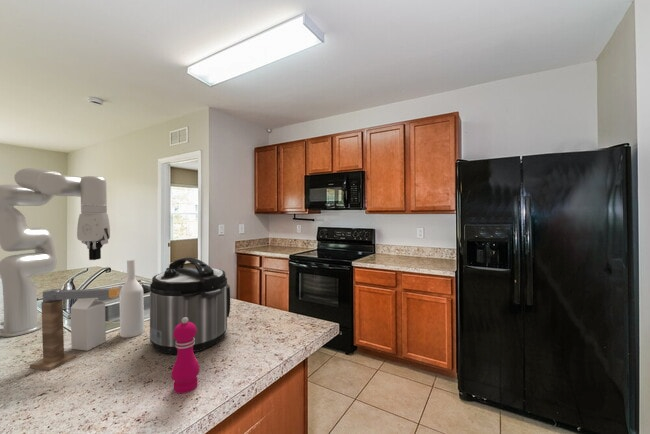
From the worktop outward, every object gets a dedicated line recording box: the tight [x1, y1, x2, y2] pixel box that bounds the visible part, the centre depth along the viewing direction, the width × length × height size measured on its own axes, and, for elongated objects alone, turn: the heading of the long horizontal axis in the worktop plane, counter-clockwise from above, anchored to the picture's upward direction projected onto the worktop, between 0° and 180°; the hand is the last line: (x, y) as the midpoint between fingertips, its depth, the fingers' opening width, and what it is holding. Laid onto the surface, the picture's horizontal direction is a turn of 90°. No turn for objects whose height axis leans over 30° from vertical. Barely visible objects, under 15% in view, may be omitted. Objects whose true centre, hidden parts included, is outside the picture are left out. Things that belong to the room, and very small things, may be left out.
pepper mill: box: [170, 317, 200, 394], centre depth 83 cm, size 7×7×20 cm
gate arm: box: [42, 286, 121, 302], centre depth 97 cm, size 21×4×3 cm, turn 101°
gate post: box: [29, 299, 77, 371], centre depth 96 cm, size 8×8×20 cm
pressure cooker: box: [149, 257, 231, 355], centre depth 113 cm, size 30×28×32 cm
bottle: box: [118, 258, 145, 338], centre depth 118 cm, size 8×8×30 cm
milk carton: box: [70, 298, 107, 352], centre depth 108 cm, size 7×7×19 cm
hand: (95, 259), depth 109 cm, fingers closed
